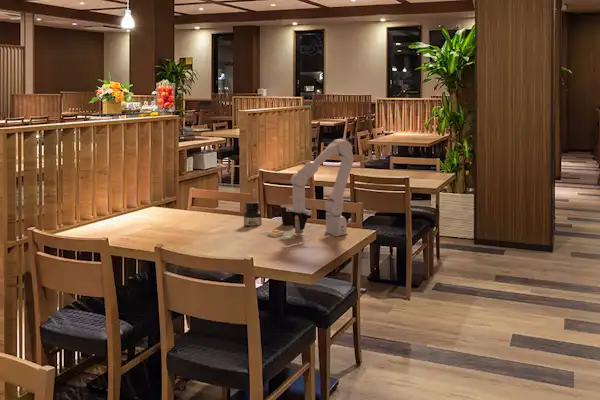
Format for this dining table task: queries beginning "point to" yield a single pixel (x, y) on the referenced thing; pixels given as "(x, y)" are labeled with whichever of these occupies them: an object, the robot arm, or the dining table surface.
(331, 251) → the dining table surface
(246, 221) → the ink bottle
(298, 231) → the marker
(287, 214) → the coffee mug
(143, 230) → the dining table surface
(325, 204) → the robot arm
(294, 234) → the board
